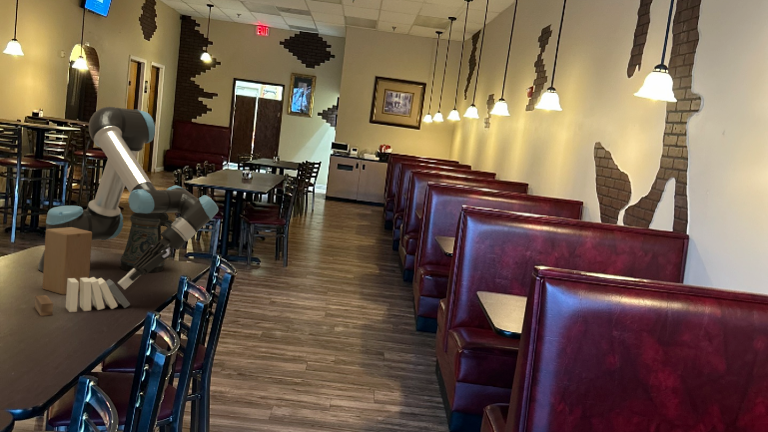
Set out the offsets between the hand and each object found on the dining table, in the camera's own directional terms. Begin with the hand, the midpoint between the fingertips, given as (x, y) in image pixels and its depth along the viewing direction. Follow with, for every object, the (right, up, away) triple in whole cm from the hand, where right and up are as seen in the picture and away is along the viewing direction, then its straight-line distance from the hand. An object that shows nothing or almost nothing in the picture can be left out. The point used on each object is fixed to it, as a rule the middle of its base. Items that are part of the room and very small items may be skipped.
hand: (121, 286), depth 202 cm
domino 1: (-12, -6, -8) cm, 16 cm away
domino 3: (-6, -6, -3) cm, 9 cm away
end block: (-18, -6, -13) cm, 23 cm away
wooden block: (-23, -3, +12) cm, 26 cm away
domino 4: (-2, -6, -1) cm, 6 cm away
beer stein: (-12, +1, +54) cm, 56 cm away
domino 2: (-9, -6, -6) cm, 12 cm away
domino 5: (+1, -6, +2) cm, 6 cm away
